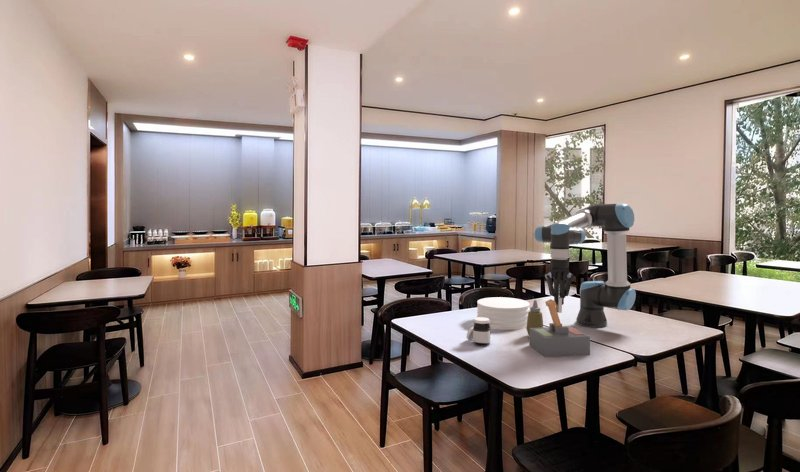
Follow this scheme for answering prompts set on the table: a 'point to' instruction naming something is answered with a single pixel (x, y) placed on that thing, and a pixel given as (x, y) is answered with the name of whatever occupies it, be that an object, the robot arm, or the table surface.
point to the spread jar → (480, 332)
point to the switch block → (559, 341)
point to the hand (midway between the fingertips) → (558, 312)
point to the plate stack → (504, 312)
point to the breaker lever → (553, 312)
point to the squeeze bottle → (534, 317)
